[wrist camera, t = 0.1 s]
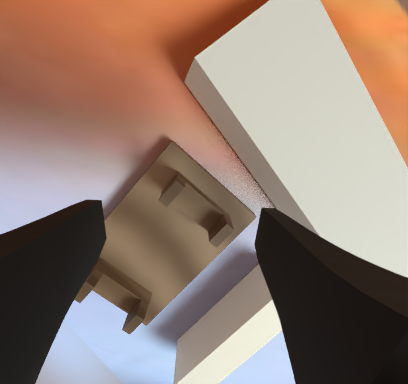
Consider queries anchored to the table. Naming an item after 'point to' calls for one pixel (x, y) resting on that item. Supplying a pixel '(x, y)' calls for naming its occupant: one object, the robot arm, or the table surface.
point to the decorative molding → (308, 128)
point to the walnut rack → (164, 236)
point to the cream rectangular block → (228, 333)
